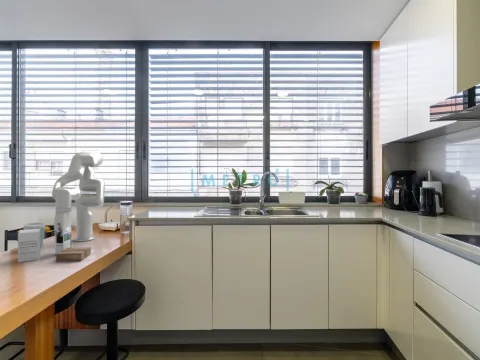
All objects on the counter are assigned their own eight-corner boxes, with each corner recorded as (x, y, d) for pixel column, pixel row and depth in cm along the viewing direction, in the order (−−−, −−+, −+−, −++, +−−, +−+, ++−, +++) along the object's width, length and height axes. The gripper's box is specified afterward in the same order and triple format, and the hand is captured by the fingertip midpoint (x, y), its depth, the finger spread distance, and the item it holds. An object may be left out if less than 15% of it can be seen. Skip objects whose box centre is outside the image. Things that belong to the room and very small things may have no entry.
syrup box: (63, 254, 149) (63, 228, 149) (54, 254, 150) (54, 228, 150) (71, 252, 155) (71, 227, 154) (63, 251, 156) (63, 226, 156)
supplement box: (19, 257, 143) (19, 229, 143) (40, 255, 148) (40, 228, 148) (17, 262, 135) (17, 233, 135) (39, 259, 140) (39, 231, 140)
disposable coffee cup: (49, 247, 163) (49, 223, 163) (29, 252, 153) (29, 226, 153) (39, 245, 167) (39, 221, 167) (19, 249, 158) (19, 224, 157)
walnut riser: (67, 254, 149) (67, 247, 149) (90, 254, 151) (90, 247, 151) (55, 261, 137) (56, 254, 137) (81, 261, 139) (81, 253, 139)
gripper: (64, 208, 160) (63, 238, 160) (47, 212, 143) (47, 245, 143) (77, 208, 161) (77, 237, 162) (62, 212, 144) (62, 245, 144)
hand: (63, 241), depth 152 cm, fingers closed on syrup box, 7 cm apart
